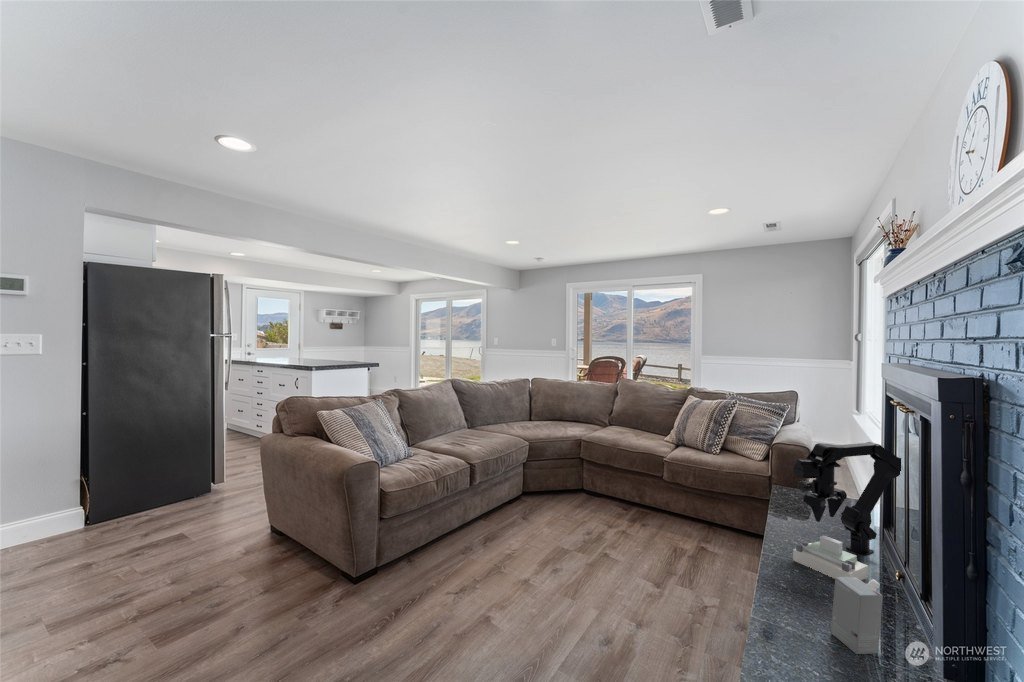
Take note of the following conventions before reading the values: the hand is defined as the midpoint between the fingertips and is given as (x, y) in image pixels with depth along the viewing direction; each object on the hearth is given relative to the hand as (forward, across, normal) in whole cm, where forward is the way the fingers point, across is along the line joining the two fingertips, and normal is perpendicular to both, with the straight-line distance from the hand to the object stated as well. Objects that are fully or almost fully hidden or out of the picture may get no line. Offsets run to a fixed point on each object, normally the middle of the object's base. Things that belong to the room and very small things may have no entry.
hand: (824, 519), depth 164 cm
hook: (+12, +30, +26) cm, 41 cm away
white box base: (+12, +12, +8) cm, 19 cm away
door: (+8, +11, +8) cm, 16 cm away
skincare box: (+12, +47, +32) cm, 58 cm away
